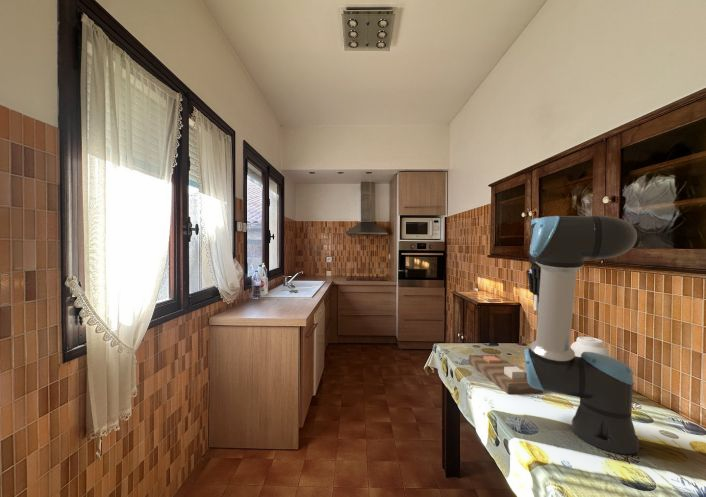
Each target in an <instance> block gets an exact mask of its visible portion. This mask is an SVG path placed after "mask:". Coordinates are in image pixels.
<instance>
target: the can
mask: <svg viewBox="0 0 706 497" xmlns="http://www.w3.org/2000/svg"><path fill="white" fill-rule="evenodd" d="M575 340H576V341H574V342H572V343H571V344H570V348H571V349H572V350H573V351H574V352H575V356H577V357H581V354H582V353H583V352H593V353H598V354H602V355H605V356H609V357H611V353H610V350H609V349H608V348H607V347H606V346H605V343H604V341H603V340H601V339H598V338H595V337H591V336H585V335H584V336H581V335H580V336H577V338H576V339H575Z"/></svg>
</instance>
